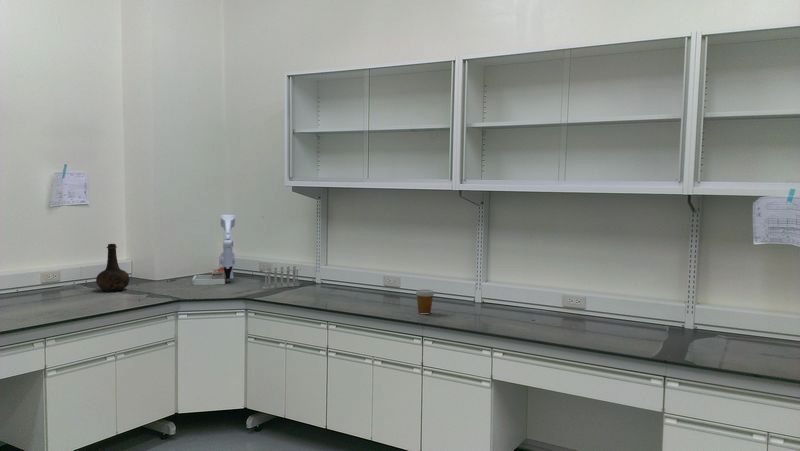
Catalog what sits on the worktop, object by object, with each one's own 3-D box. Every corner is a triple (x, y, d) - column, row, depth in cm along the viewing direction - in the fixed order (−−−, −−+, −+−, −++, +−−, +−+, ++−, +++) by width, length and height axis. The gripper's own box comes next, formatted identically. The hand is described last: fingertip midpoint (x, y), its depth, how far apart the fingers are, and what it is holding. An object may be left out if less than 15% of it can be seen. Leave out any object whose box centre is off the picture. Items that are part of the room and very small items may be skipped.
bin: (194, 280, 392) (194, 275, 391) (225, 280, 397) (225, 274, 397) (192, 285, 374) (192, 279, 374) (224, 284, 379) (224, 279, 379)
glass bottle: (135, 288, 358) (135, 243, 356) (118, 293, 340) (118, 245, 338) (107, 287, 360) (107, 242, 358) (89, 292, 342) (89, 244, 340)
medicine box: (213, 280, 393) (211, 269, 392) (225, 279, 395) (224, 267, 395) (212, 284, 379) (211, 272, 378) (225, 282, 381) (224, 270, 380)
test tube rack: (297, 284, 385) (297, 265, 384) (300, 285, 382) (300, 265, 381) (262, 288, 370) (262, 267, 369) (265, 289, 366) (265, 268, 365)
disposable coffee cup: (430, 316, 301) (430, 293, 300) (412, 314, 304) (413, 291, 304) (435, 312, 310) (436, 290, 309) (418, 310, 313) (419, 288, 312)
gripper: (234, 258, 381) (234, 279, 382) (234, 256, 395) (234, 276, 396) (222, 259, 379) (222, 279, 380) (223, 256, 393) (223, 276, 394)
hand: (227, 278), depth 388 cm, fingers open, 7 cm apart
